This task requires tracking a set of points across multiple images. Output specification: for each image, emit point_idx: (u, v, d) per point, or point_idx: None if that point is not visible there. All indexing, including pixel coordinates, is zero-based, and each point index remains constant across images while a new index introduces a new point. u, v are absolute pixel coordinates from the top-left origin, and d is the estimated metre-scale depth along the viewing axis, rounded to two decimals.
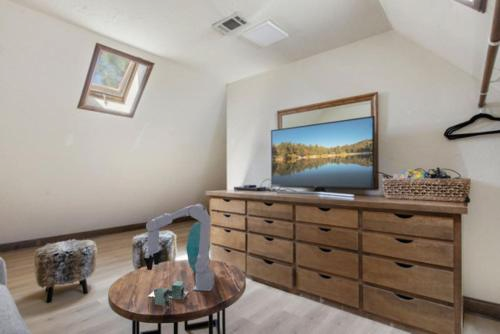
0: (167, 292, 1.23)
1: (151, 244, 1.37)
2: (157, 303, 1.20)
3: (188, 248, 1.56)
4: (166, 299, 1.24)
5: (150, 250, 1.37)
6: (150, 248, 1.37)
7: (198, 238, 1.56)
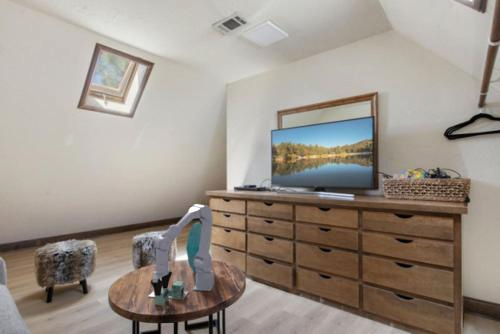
0: (167, 292, 1.23)
1: (160, 266, 1.20)
2: (157, 303, 1.20)
3: (188, 248, 1.56)
4: (166, 299, 1.24)
5: (159, 272, 1.20)
6: (159, 270, 1.20)
7: (198, 238, 1.56)
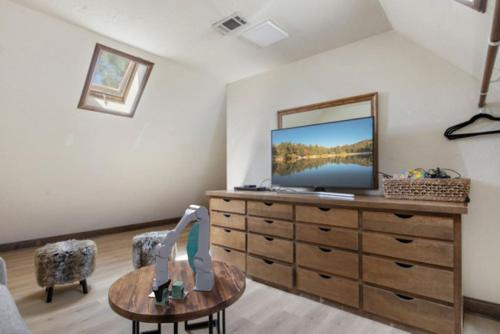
0: (167, 292, 1.23)
1: (160, 273, 1.20)
2: (157, 303, 1.20)
3: (188, 248, 1.56)
4: (166, 299, 1.24)
5: (158, 280, 1.20)
6: (158, 278, 1.20)
7: (198, 238, 1.56)
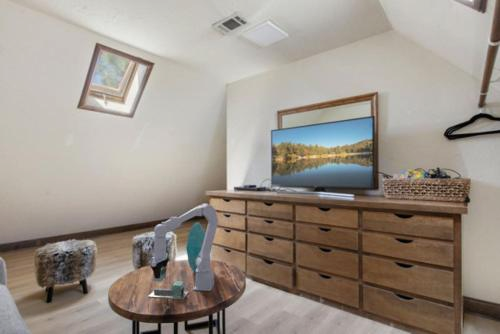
0: (165, 270, 1.31)
1: (158, 251, 1.28)
2: (155, 280, 1.28)
3: (188, 248, 1.56)
4: (164, 276, 1.32)
5: (157, 258, 1.28)
6: (157, 256, 1.28)
7: (198, 238, 1.56)
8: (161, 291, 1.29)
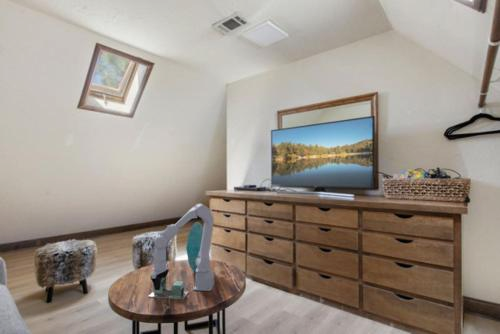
0: (165, 281, 1.31)
1: (158, 263, 1.28)
2: (155, 291, 1.28)
3: (188, 248, 1.56)
4: (164, 288, 1.31)
5: (157, 269, 1.28)
6: (157, 267, 1.28)
7: (198, 238, 1.56)
8: None
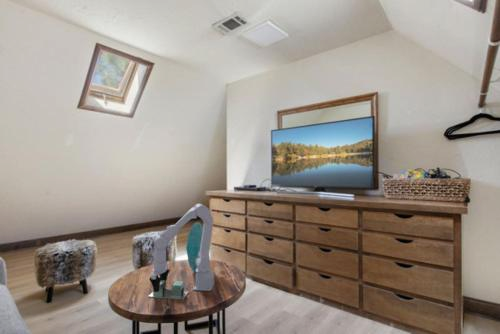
0: (164, 284, 1.31)
1: (158, 264, 1.28)
2: (155, 294, 1.28)
3: (188, 248, 1.56)
4: None
5: (157, 270, 1.28)
6: (157, 268, 1.28)
7: (198, 238, 1.56)
8: None
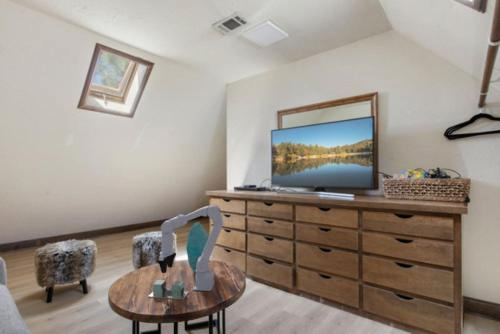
0: (164, 284, 1.31)
1: (165, 246, 1.34)
2: (155, 294, 1.28)
3: (188, 248, 1.56)
4: None
5: (164, 252, 1.34)
6: (164, 250, 1.34)
7: (198, 238, 1.56)
8: None
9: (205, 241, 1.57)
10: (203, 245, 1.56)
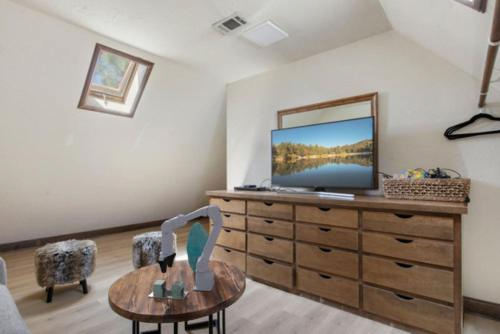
0: (164, 284, 1.31)
1: (165, 246, 1.34)
2: (155, 294, 1.28)
3: (188, 248, 1.56)
4: None
5: (164, 252, 1.34)
6: (164, 250, 1.34)
7: (198, 238, 1.56)
8: None
9: (205, 241, 1.57)
10: (203, 245, 1.56)
